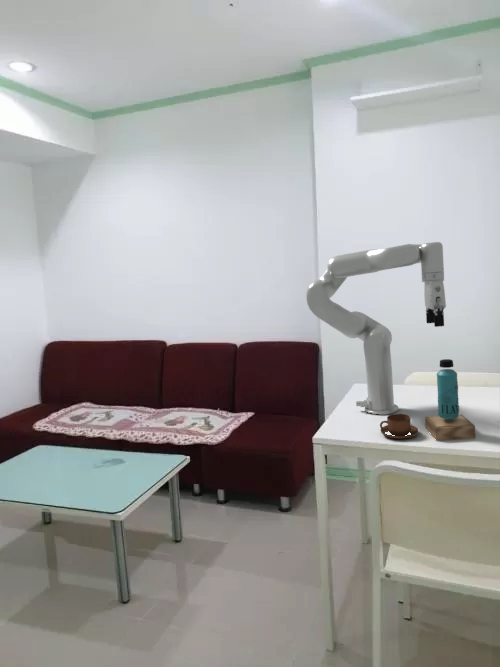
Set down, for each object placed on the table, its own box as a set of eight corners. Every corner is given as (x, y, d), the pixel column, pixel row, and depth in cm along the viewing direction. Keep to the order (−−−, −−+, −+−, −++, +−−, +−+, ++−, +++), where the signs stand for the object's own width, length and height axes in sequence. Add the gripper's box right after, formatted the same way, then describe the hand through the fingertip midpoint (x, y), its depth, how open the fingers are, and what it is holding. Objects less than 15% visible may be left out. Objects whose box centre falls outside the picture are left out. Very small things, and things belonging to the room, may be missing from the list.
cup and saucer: (393, 444, 162) (392, 425, 161) (374, 433, 174) (372, 415, 173) (426, 437, 166) (425, 418, 165) (405, 427, 177) (404, 409, 176)
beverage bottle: (438, 423, 164) (435, 362, 161) (437, 417, 170) (434, 358, 167) (460, 423, 162) (458, 361, 159) (458, 417, 168) (456, 357, 166)
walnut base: (436, 440, 161) (435, 427, 161) (425, 428, 173) (424, 416, 172) (475, 438, 160) (474, 424, 160) (461, 425, 172) (461, 413, 172)
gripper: (451, 277, 175) (453, 326, 177) (436, 275, 192) (438, 320, 194) (429, 279, 175) (431, 328, 178) (415, 277, 192) (418, 322, 195)
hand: (435, 324), depth 186 cm, fingers open, 9 cm apart
